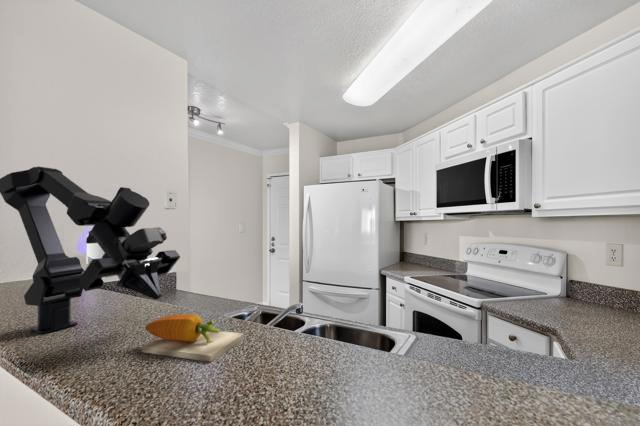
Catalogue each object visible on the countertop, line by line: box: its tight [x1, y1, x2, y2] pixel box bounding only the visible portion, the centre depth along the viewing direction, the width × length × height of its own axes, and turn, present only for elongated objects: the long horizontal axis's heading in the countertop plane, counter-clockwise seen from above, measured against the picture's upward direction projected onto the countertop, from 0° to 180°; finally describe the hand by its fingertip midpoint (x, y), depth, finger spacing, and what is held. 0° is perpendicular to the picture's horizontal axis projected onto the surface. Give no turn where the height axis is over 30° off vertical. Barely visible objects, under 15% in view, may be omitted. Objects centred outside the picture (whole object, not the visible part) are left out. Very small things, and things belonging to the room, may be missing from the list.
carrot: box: [144, 313, 220, 343], centre depth 55 cm, size 5×5×15 cm
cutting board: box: [141, 330, 245, 363], centre depth 55 cm, size 15×10×1 cm, turn 72°
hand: (158, 297), depth 58 cm, fingers closed
